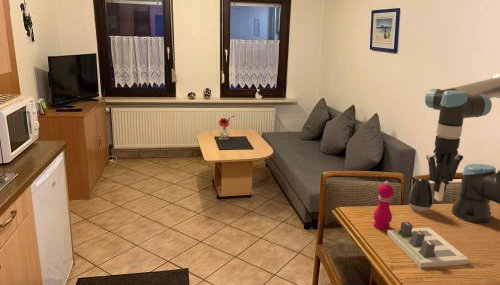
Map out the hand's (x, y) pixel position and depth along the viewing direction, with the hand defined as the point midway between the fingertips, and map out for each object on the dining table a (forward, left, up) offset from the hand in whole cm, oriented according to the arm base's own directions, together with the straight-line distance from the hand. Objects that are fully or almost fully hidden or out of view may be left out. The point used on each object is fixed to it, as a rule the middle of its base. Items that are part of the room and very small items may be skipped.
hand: (438, 199), depth 142 cm
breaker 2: (+6, +7, -17) cm, 20 cm away
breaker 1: (+6, -7, -17) cm, 20 cm away
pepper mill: (+10, -18, -20) cm, 29 cm away
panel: (+2, 0, -20) cm, 20 cm away
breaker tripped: (+6, 0, -17) cm, 18 cm away
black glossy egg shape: (-15, -31, -20) cm, 40 cm away
